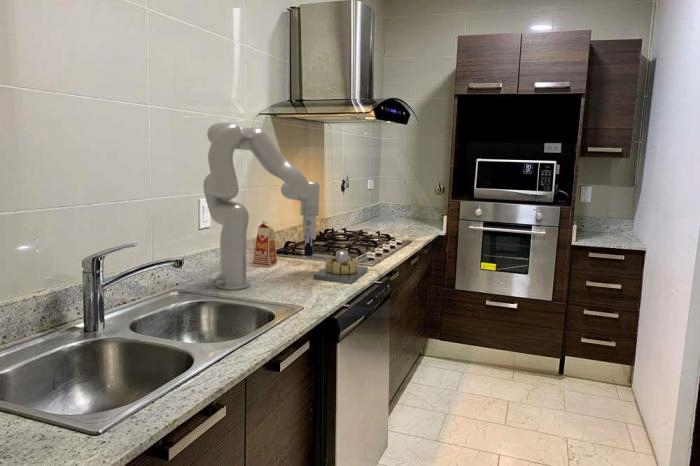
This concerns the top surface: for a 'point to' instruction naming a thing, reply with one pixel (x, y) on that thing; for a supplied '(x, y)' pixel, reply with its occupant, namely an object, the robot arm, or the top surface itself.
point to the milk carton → (265, 247)
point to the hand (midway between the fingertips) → (308, 255)
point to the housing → (340, 278)
